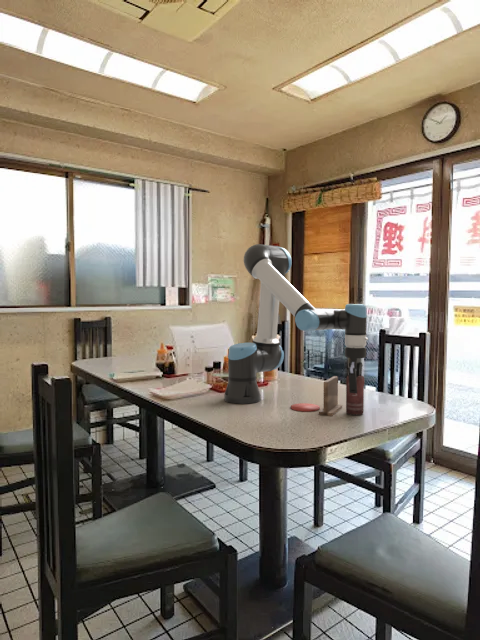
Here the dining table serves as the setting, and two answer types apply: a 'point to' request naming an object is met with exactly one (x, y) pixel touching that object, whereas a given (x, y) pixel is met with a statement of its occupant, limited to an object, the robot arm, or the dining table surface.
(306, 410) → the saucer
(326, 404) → the screen
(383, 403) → the dining table surface
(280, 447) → the dining table surface
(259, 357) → the robot arm
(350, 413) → the can
